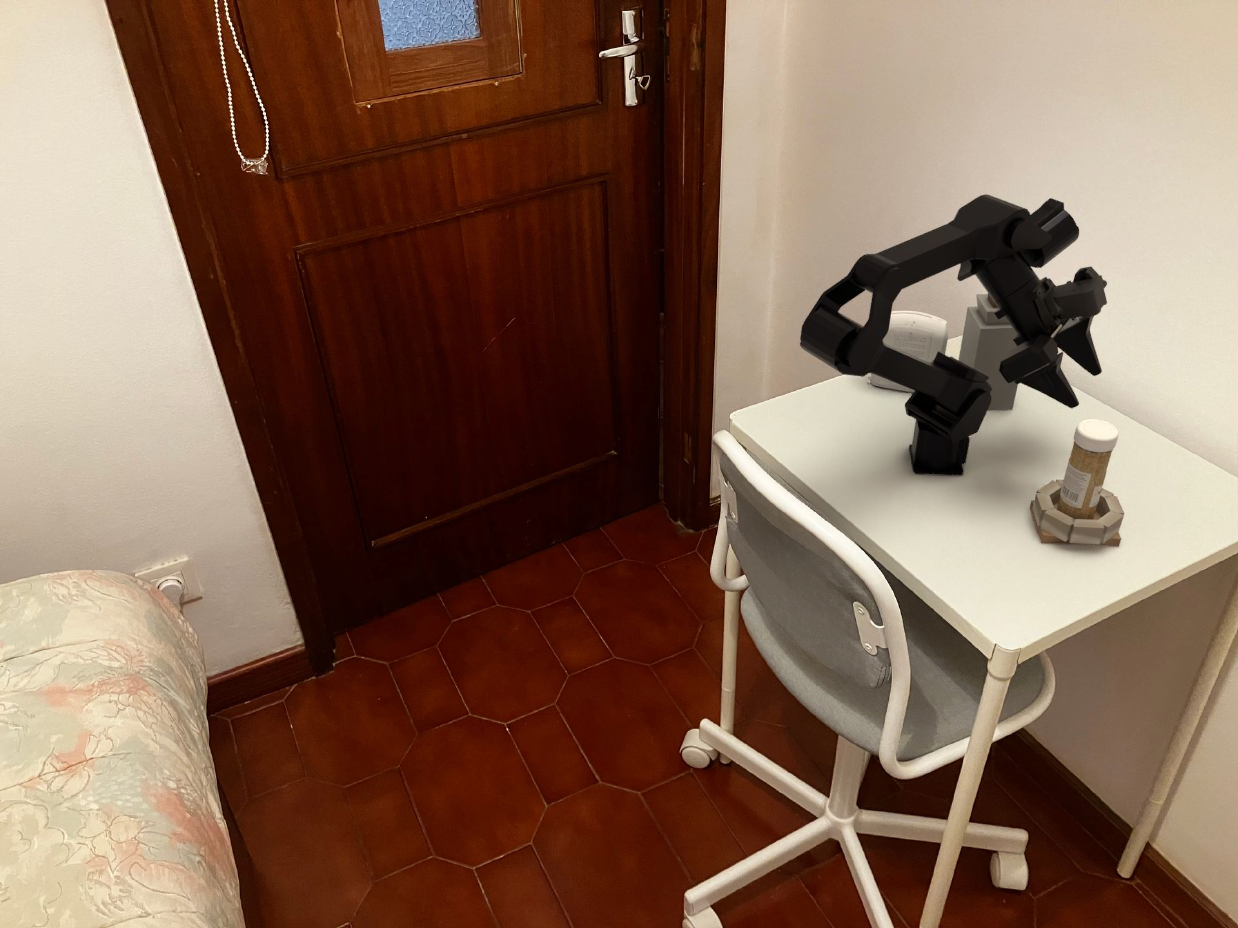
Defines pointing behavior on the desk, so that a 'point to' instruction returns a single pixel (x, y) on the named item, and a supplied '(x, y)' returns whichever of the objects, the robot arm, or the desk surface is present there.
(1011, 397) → the perfume bottle
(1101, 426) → the sprinkles bottle
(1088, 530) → the octagonal open basket
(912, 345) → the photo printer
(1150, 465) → the desk surface
